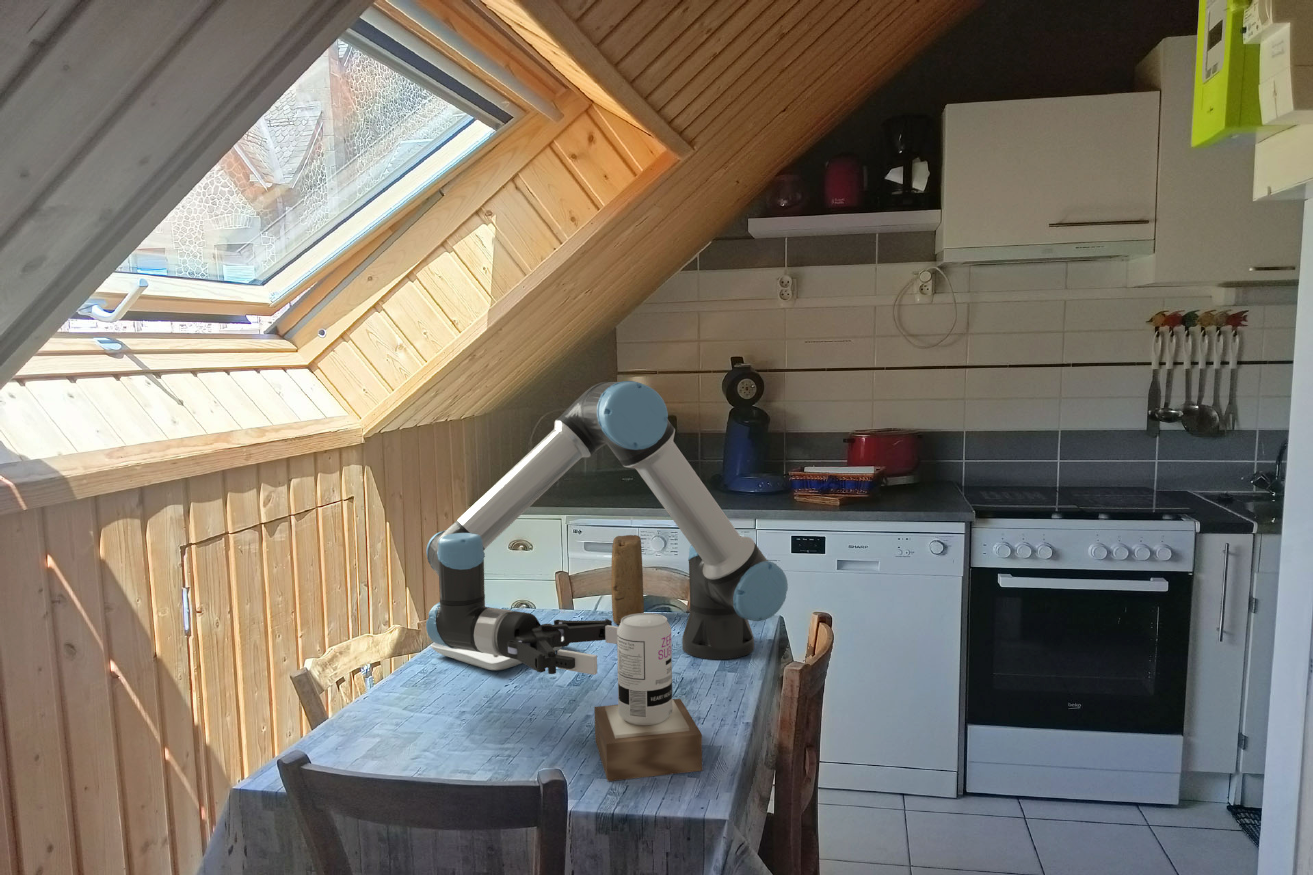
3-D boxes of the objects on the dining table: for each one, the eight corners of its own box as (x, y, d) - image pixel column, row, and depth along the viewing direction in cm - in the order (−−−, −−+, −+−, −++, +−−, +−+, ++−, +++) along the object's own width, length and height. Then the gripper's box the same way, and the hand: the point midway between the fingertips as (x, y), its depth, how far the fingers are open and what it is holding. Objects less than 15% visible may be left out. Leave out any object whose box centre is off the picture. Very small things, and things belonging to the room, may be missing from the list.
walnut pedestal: (681, 731, 138) (680, 695, 138) (702, 770, 125) (701, 730, 124) (595, 740, 136) (594, 703, 135) (607, 781, 122) (606, 740, 121)
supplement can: (616, 707, 133) (615, 613, 132) (669, 704, 134) (667, 610, 133) (620, 728, 125) (618, 628, 124) (676, 725, 126) (674, 626, 125)
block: (643, 627, 196) (641, 541, 194) (611, 627, 196) (609, 541, 194) (645, 613, 207) (643, 532, 205) (614, 614, 207) (612, 532, 205)
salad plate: (506, 634, 194) (505, 619, 193) (572, 652, 180) (572, 636, 180) (428, 659, 177) (427, 643, 177) (494, 681, 164) (494, 663, 164)
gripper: (553, 634, 152) (658, 651, 142) (458, 680, 130) (574, 703, 120) (552, 593, 151) (657, 607, 141) (456, 632, 129) (573, 651, 119)
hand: (619, 651), depth 131 cm, fingers open, 13 cm apart
